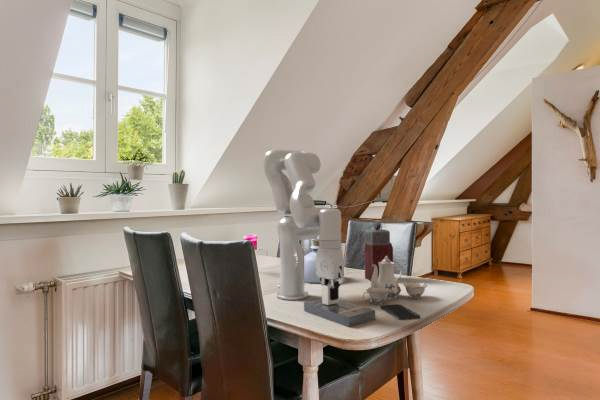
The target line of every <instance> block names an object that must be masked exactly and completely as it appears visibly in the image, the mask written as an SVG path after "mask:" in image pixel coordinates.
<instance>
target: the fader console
mask: <svg viewBox="0 0 600 400" xmlns="http://www.w3.org/2000/svg"><path fill="white" fill-rule="evenodd" d="M303 312H306V313H307V314H311V315H314V316H316V317H320V318H322V319H325V320H329V321H330V322H334V323H336V324H339V325H342V326H344V327H347V328H349V327H353V326H357V325H361V324H364V323H368V322H371V321H376V310H375V309H372V308H369V307H365V306H363V305H359V304H356V303H352V302H348V301H346V300H342V299H339V303H335V304H330V305H326V304H323V303H322V298H319V299H314V300H313V299H312V300H309V301H304V302H303Z"/></svg>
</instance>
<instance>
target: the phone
mask: <svg viewBox="0 0 600 400" xmlns="http://www.w3.org/2000/svg"><path fill="white" fill-rule="evenodd" d="M380 310H383V311H384V312H386V313H388V314H389V315H390V316H392V317H393V318H395V319H397V320H398V321H408V320H409V321H410V320H419V319H421V315H420V314H418V313H416V312H414V311H413V310H411V309H409V308H407V307H406V306H404V305H401V304H398V303H397V304H387V305H384V304H382V305H380Z"/></svg>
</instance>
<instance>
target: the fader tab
mask: <svg viewBox="0 0 600 400" xmlns="http://www.w3.org/2000/svg"><path fill="white" fill-rule="evenodd" d="M330 288H331V283H330V284H328V285H323V286H322V285H321V299H322V303H323V304H326V305H330V304H335V303H339V300H340V296H339V295H340V287H339V288H338V299H336V300H330Z"/></svg>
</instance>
